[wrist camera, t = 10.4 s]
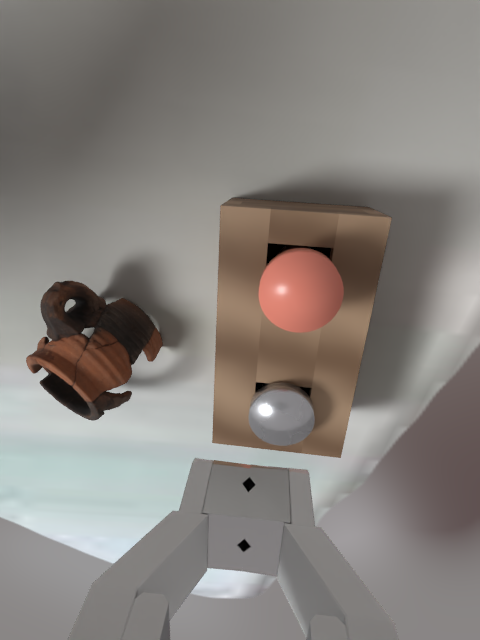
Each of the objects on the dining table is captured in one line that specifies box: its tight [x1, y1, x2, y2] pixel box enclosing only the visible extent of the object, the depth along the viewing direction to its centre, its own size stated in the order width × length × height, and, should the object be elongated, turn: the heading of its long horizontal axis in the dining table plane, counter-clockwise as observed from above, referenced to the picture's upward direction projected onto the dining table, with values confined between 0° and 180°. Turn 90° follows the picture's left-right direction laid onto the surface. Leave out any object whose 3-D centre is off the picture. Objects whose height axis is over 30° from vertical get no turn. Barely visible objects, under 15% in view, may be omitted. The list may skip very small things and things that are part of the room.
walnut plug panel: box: [212, 198, 392, 458], centre depth 28 cm, size 18×10×6 cm, turn 177°
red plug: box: [259, 245, 344, 333], centre depth 23 cm, size 5×5×7 cm
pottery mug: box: [26, 281, 163, 420], centre depth 31 cm, size 12×9×8 cm
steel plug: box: [249, 382, 315, 446], centre depth 29 cm, size 5×5×7 cm
